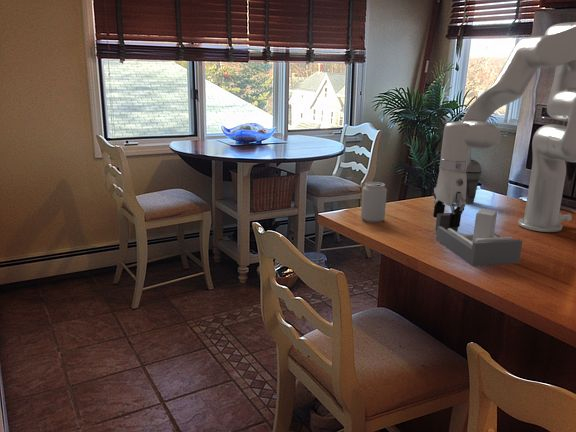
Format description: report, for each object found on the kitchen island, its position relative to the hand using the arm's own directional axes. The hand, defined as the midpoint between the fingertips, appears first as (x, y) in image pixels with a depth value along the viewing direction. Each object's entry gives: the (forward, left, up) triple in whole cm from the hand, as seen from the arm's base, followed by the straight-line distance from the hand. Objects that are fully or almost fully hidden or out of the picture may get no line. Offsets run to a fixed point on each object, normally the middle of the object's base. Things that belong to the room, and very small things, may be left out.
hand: (445, 221), depth 158 cm
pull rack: (-1, +12, -3) cm, 12 cm away
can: (+17, -15, -3) cm, 23 cm away
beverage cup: (-25, -31, -3) cm, 39 cm away
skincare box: (-1, +19, -3) cm, 20 cm away
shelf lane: (-1, +16, -3) cm, 17 cm away
